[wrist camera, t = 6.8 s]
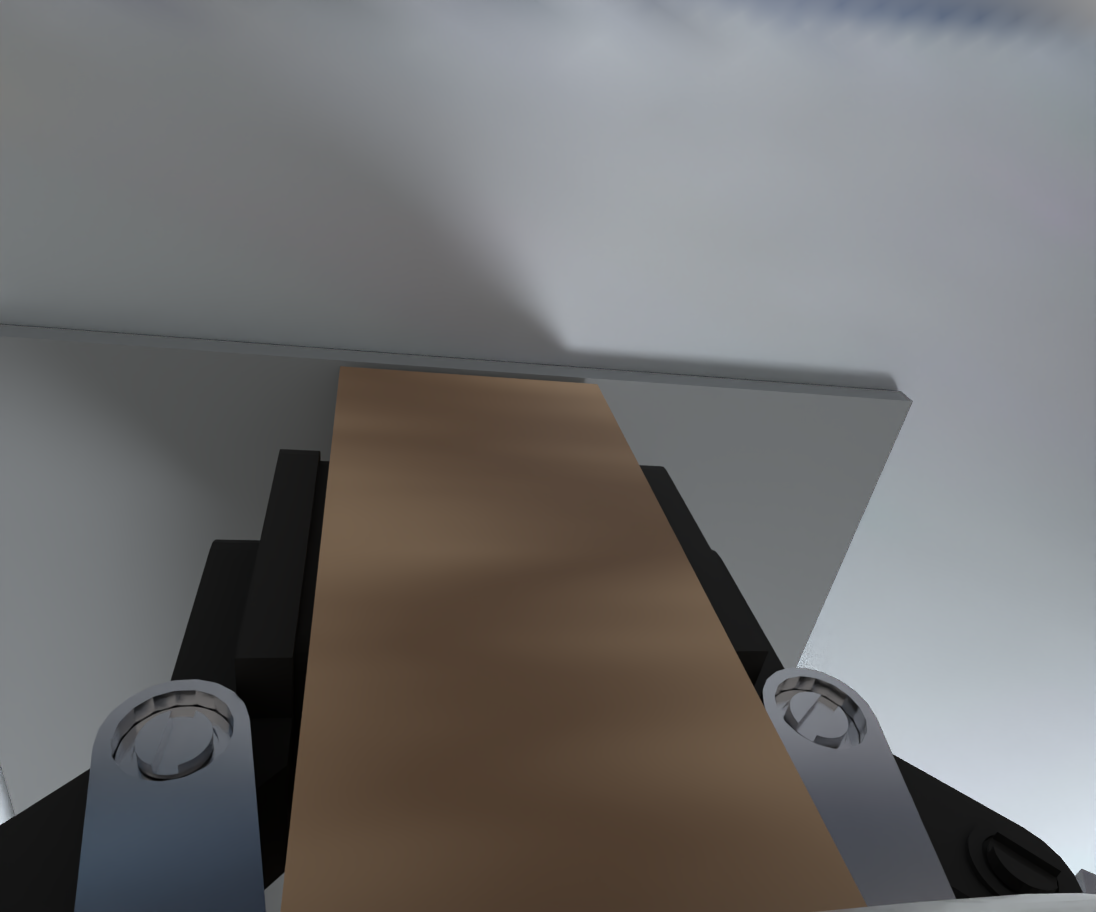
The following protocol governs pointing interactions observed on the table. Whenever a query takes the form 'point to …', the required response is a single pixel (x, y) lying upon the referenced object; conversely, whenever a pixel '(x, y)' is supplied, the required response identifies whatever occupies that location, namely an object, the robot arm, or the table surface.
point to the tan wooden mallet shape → (527, 679)
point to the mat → (307, 424)
